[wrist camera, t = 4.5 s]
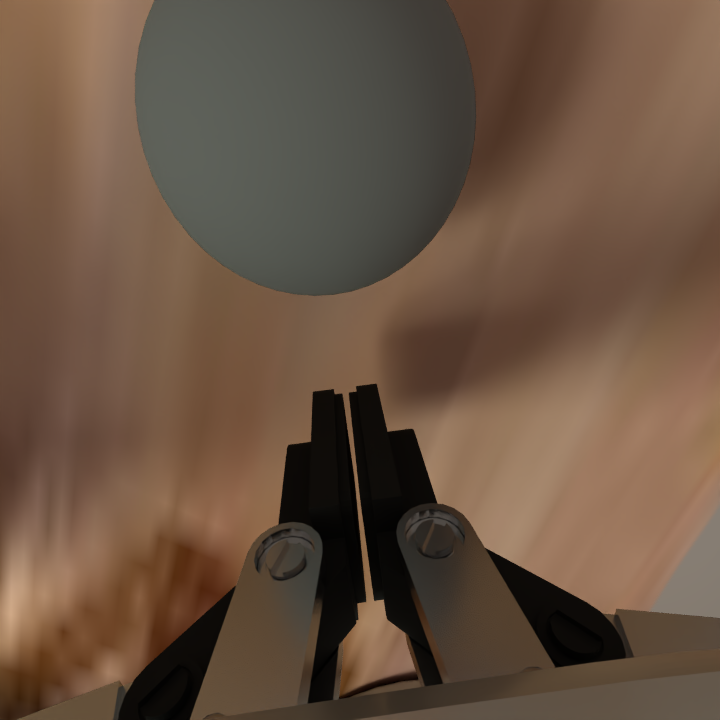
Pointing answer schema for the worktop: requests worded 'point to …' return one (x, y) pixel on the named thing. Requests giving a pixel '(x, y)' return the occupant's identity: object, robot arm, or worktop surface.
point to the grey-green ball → (307, 132)
